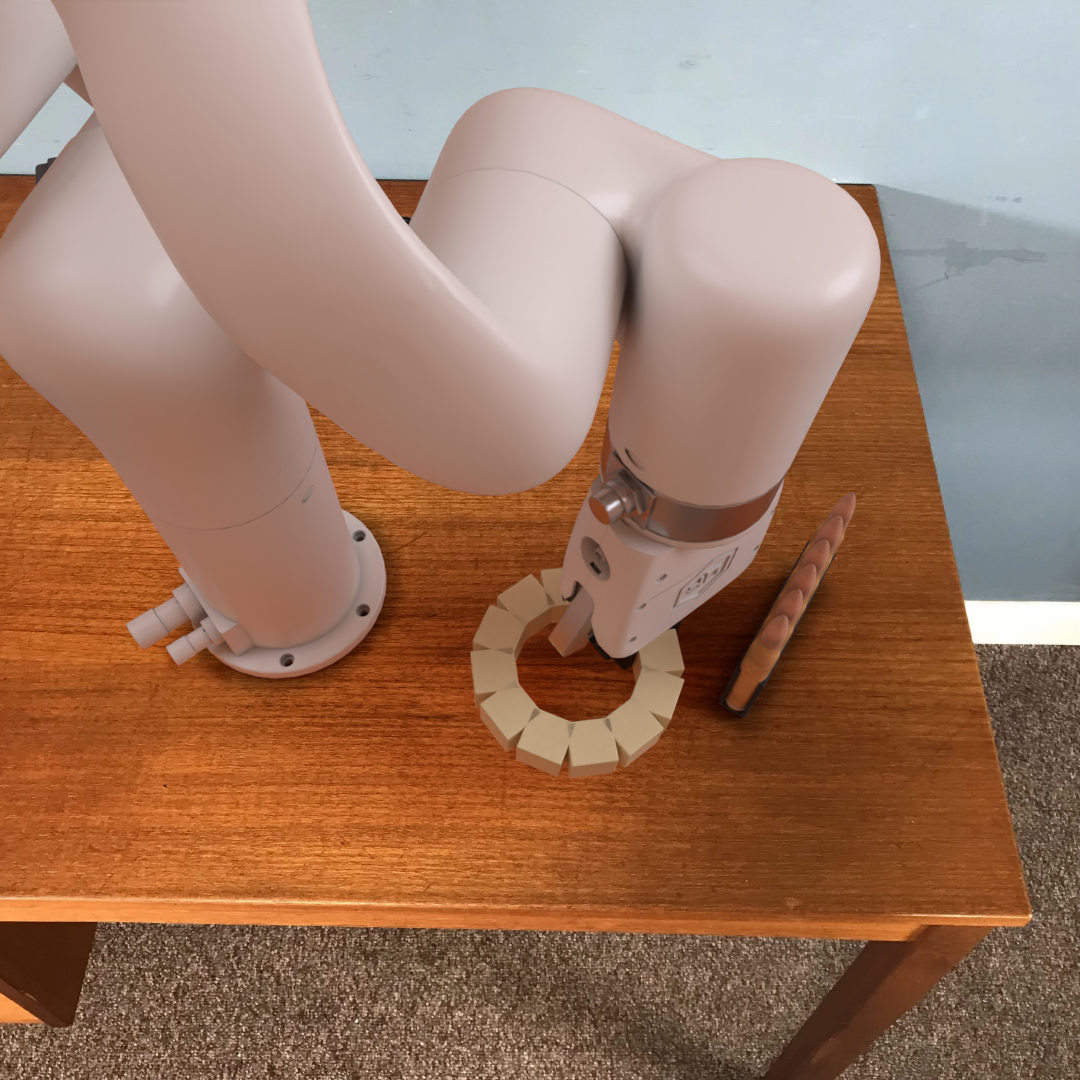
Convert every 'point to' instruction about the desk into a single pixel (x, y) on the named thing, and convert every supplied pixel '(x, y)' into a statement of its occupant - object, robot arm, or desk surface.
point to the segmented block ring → (551, 736)
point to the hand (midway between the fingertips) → (633, 631)
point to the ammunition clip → (787, 610)
